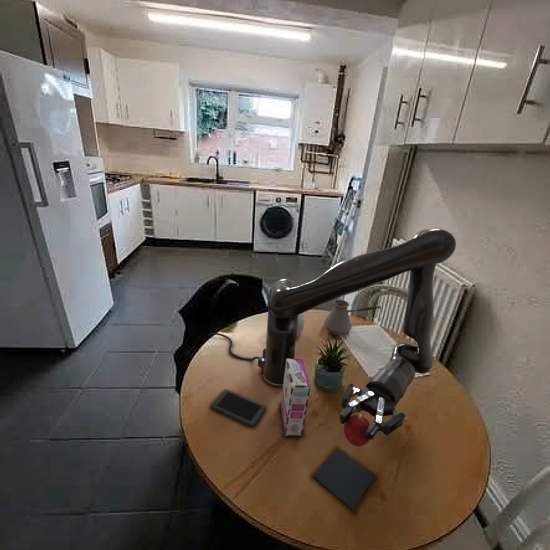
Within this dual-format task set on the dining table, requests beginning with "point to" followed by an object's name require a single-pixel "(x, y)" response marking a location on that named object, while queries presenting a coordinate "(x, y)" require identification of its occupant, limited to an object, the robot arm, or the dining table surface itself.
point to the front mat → (344, 478)
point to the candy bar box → (294, 397)
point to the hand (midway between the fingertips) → (353, 428)
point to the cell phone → (238, 407)
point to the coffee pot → (341, 317)
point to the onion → (356, 430)
